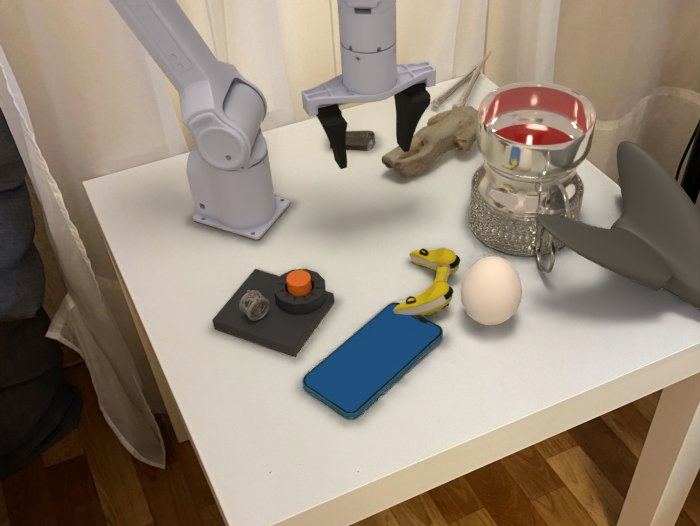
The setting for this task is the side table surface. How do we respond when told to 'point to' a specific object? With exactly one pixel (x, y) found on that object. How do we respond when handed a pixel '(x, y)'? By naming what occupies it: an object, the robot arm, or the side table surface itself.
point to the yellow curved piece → (439, 290)
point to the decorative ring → (254, 305)
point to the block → (359, 140)
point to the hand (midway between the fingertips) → (372, 155)
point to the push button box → (276, 312)
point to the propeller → (642, 229)
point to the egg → (491, 291)
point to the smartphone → (371, 360)
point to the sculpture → (435, 141)
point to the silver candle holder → (529, 165)
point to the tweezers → (469, 87)
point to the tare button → (299, 283)
